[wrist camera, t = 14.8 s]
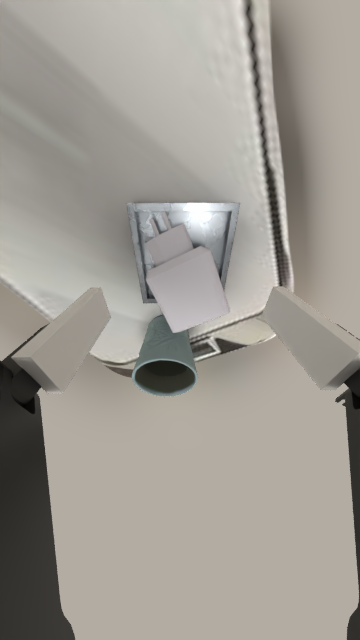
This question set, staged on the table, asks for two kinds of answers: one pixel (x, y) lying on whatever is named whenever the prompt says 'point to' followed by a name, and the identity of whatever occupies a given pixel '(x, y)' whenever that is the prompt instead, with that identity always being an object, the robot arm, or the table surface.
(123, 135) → the table surface
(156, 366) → the green cup
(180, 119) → the table surface
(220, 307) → the charger
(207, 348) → the table surface
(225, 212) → the gray square tray
